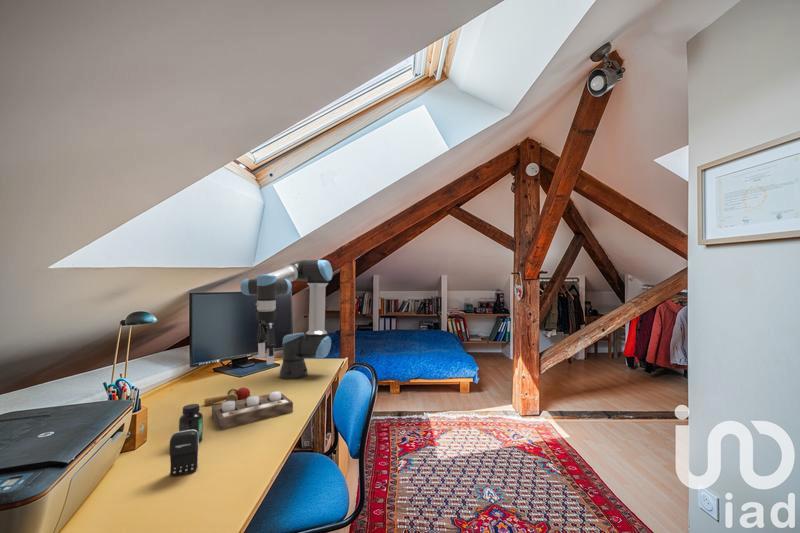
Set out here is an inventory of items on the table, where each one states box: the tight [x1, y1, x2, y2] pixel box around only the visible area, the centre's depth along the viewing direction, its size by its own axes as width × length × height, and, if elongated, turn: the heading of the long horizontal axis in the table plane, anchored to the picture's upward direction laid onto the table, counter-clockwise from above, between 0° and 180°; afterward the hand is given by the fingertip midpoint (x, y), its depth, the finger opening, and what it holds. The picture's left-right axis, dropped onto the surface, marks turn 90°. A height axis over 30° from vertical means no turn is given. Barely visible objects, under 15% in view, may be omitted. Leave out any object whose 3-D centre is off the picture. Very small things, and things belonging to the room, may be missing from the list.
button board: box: [211, 392, 294, 431], centre depth 140 cm, size 27×16×4 cm, turn 128°
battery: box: [168, 429, 199, 477], centre depth 98 cm, size 7×4×11 cm, turn 114°
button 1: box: [221, 400, 235, 413], centre depth 135 cm, size 5×5×4 cm
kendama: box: [204, 386, 251, 407], centre depth 153 cm, size 8×6×18 cm
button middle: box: [247, 395, 260, 408], centre depth 140 cm, size 5×5×4 cm
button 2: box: [269, 390, 282, 402], centre depth 146 cm, size 5×5×4 cm
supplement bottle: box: [178, 403, 204, 443], centre depth 117 cm, size 7×7×12 cm
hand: (265, 360), depth 147 cm, fingers open, 13 cm apart
